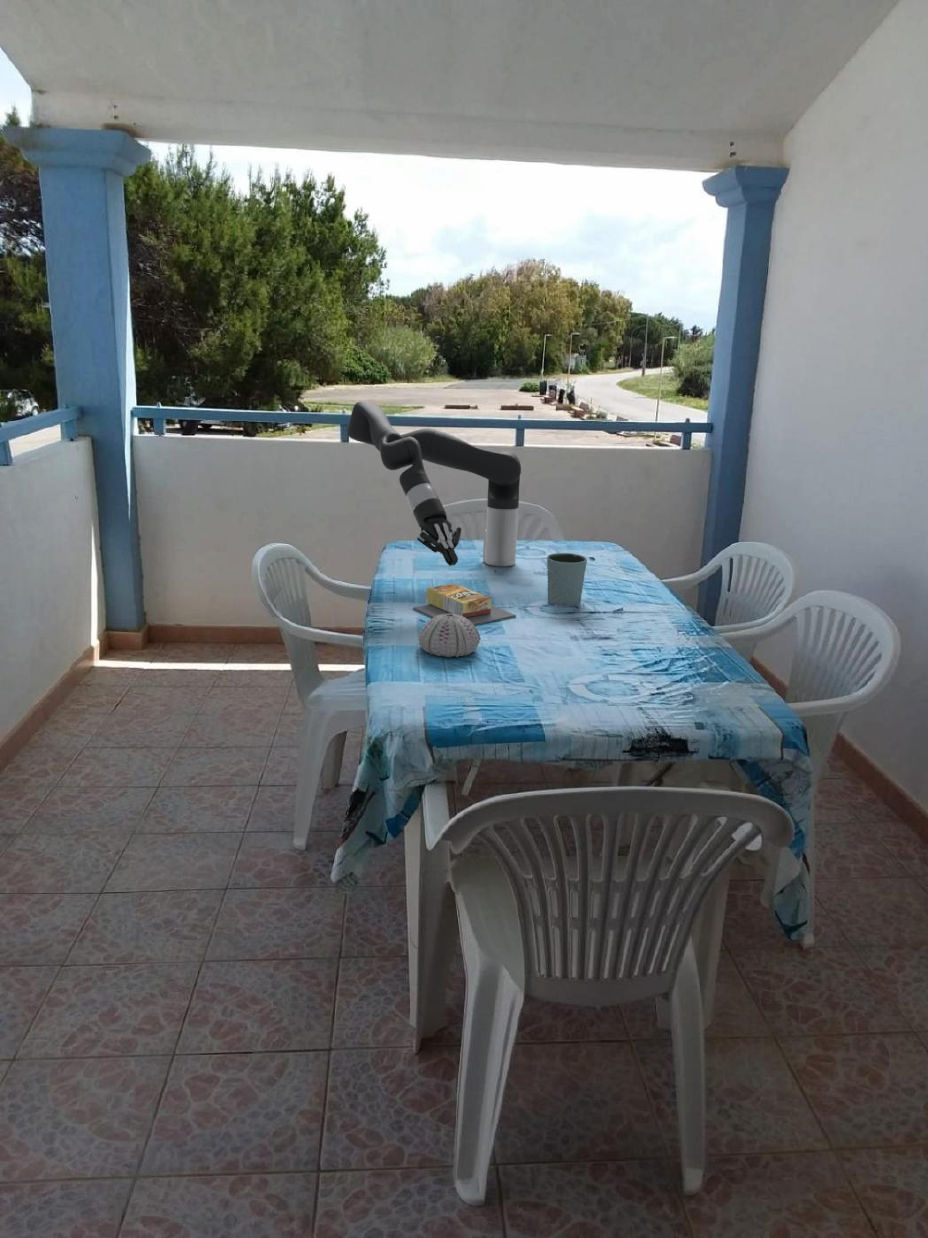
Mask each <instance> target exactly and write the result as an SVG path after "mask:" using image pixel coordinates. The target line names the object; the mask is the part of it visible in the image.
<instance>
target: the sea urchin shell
mask: <svg viewBox="0 0 928 1238" xmlns="http://www.w3.org/2000/svg"><path fill="white" fill-rule="evenodd" d="M479 633H480V632H479V631H478V628H477V627H476V625H475V626H474V625H473V624H472V623H471V622H470V621H469V620H468V619H466V617H465V618H464V617H462V616H460V615H457V614H451V613H450V614H441V615H437V616H435V617H434V618H431V619H429V620H428V621H427V622H426V624H424V627H423V628H421V631H420V632H419V635H418V636H417V637H418V639H417V640H418V645H419V647H420V648H421V649H422V650H423V651H425V652H426V653H428V654H430V655H435V656H438V657H446V658H453V657H455V656H456V657H455V658H459V656H468V655H471V653H474V651H477V647H479V644H480V643H481V641H480V640H481V634H479ZM452 656H453V657H452Z"/></svg>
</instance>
